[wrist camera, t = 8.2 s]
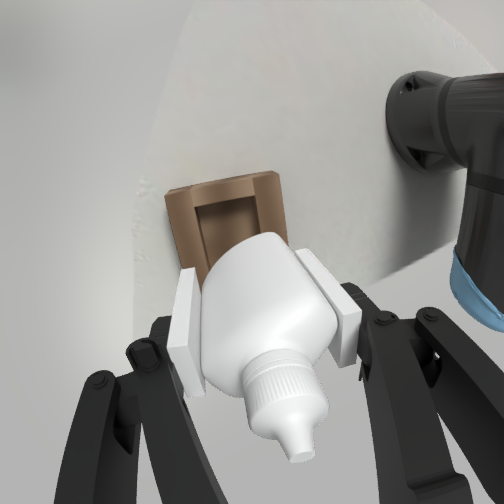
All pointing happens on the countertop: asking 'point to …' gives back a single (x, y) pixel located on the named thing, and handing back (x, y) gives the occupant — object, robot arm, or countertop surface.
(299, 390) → the eye dropper bottle
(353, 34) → the countertop surface
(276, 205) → the walnut bottle stand
